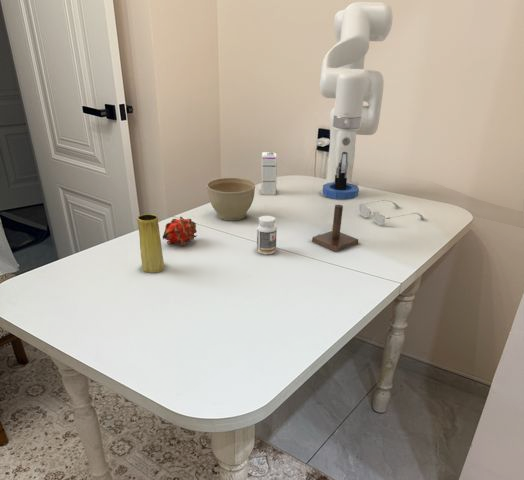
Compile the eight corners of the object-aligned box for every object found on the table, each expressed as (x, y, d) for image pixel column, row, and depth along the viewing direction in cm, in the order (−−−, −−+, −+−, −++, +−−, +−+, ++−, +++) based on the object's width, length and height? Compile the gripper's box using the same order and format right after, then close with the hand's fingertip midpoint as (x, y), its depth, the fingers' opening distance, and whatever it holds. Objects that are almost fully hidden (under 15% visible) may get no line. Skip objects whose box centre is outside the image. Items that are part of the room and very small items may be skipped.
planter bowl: (198, 216, 169) (196, 184, 163) (230, 205, 179) (230, 174, 173) (232, 228, 160) (231, 194, 154) (264, 216, 171) (265, 184, 164)
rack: (334, 234, 158) (337, 198, 151) (358, 244, 152) (363, 207, 145) (311, 241, 153) (314, 204, 146) (335, 252, 146) (340, 213, 140)
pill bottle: (279, 251, 146) (281, 218, 140) (266, 256, 142) (267, 223, 137) (265, 245, 149) (266, 213, 143) (252, 251, 146) (252, 218, 140)
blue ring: (338, 186, 150) (339, 180, 149) (365, 195, 143) (366, 188, 142) (314, 192, 144) (315, 186, 143) (341, 201, 138) (342, 194, 136)
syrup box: (276, 194, 191) (277, 155, 182) (260, 194, 191) (261, 155, 183) (276, 190, 195) (277, 152, 187) (261, 190, 195) (261, 151, 187)
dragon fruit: (200, 243, 153) (168, 259, 148) (185, 222, 154) (152, 237, 149) (206, 228, 146) (173, 243, 140) (190, 206, 147) (156, 220, 141)
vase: (156, 261, 138) (150, 211, 130) (169, 268, 135) (164, 217, 127) (137, 267, 135) (130, 216, 127) (150, 275, 131) (144, 223, 123)
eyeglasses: (356, 213, 175) (358, 202, 172) (397, 207, 182) (398, 196, 179) (384, 228, 163) (386, 216, 161) (426, 220, 170) (428, 209, 168)
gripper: (362, 129, 130) (354, 199, 140) (358, 118, 143) (350, 183, 153) (334, 128, 130) (327, 197, 141) (332, 117, 143) (326, 182, 154)
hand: (339, 189), depth 147 cm, fingers closed on blue ring, 2 cm apart
